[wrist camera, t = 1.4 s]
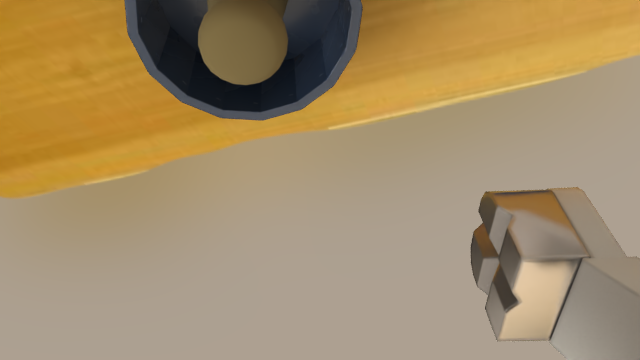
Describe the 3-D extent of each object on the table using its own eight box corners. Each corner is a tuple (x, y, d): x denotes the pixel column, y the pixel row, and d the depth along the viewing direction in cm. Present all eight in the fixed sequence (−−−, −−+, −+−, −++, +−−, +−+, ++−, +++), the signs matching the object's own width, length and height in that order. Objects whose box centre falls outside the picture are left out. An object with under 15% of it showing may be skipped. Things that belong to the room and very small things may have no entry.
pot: (254, -184, 37) (251, -165, 32) (389, -7, 44) (405, 33, 39) (99, -31, 42) (74, 8, 37) (243, 105, 49) (240, 154, 44)
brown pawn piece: (293, 21, 45) (298, 98, 36) (210, 25, 45) (195, 103, 36) (289, -64, 41) (293, 0, 33) (198, -60, 41) (179, 5, 32)
